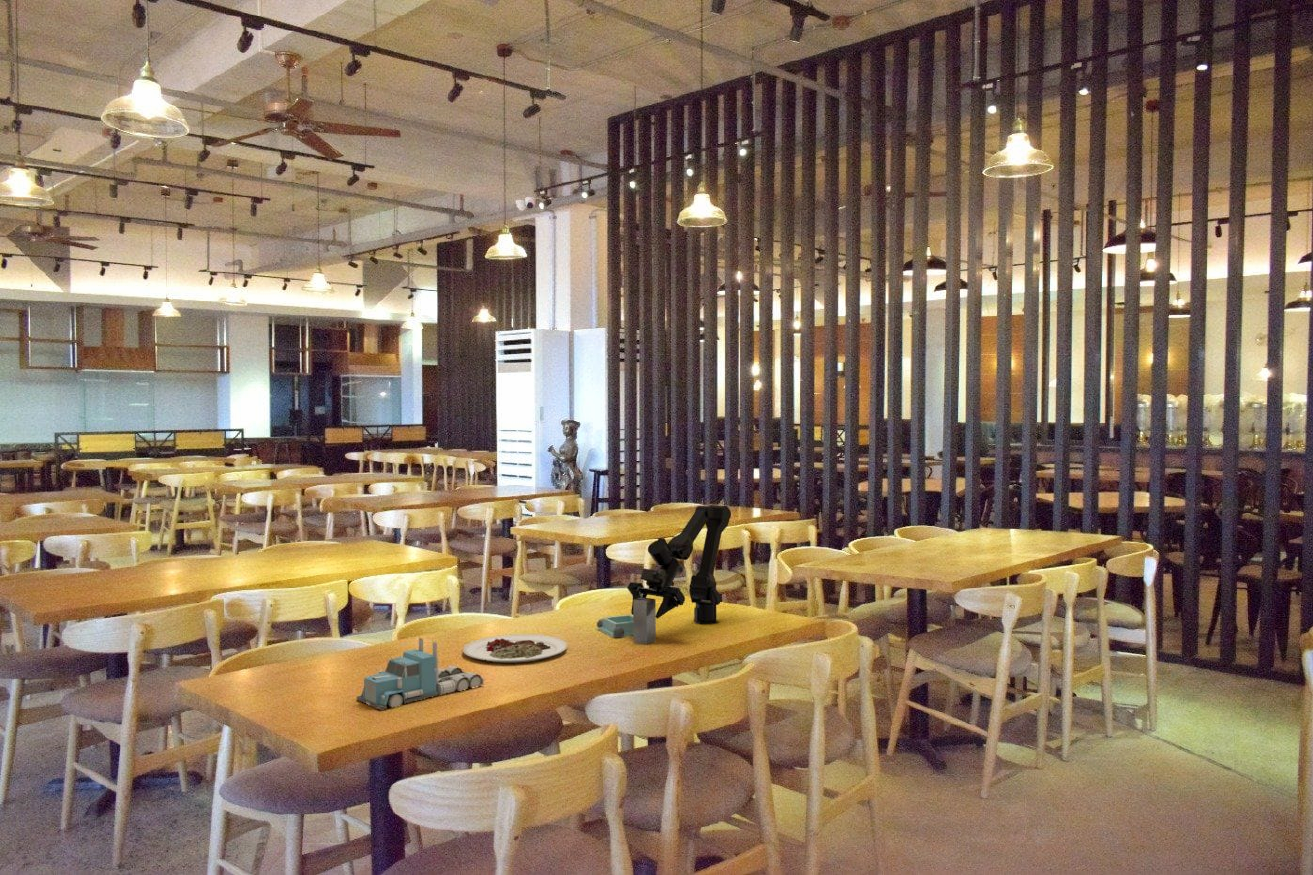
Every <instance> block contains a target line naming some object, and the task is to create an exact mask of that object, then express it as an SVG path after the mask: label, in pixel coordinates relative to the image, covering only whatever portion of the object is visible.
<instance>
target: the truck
mask: <svg viewBox="0 0 1313 875" xmlns="http://www.w3.org/2000/svg"><path fill="white" fill-rule="evenodd" d="M413 647H414V649H411V650H406V651H404V652H403V654H402V656H401V655H400V656H397V657H390V659H387V660H386V664H387V665H386V668H385V671H384V670H379V672H378V673H376V674H372V675H369V676H366V677H363V678H364V679H363V680H364V682H363V687H362V690H361V691H362V692H361V695H357V696H356V701H358V700H359V701H358V702H360V701H361V702H360V703H362V702H363V703H362V704H364V703H366V704H365V705H367V704H368V705H367V706H369V707H371V706H372V707H371V708H373V707H374V708H373V709H376V710H378V709H379V710H378V711H380V710H381V711H385V710H384V709H386V710H387V709H388V707H389V708H390V707H391V708H390V709H394V708H393V707H395V708H397V707H396V706H399V705H401V706H402V705H406V703H408V704H410V703H409V702H412V701H416V702H418V701H417V700H420V701H422V700H421V699H424V698H428V697H432V696H437V695H438V694H439V695H438V696H443V694H444V695H447V694H446V693H448V694H451V692H452V693H454V692H455V691H456V690H457V691H456V692H458V691H461V690H464V689H471V688H472V687H476V686H480V687H481V685H484V681H485V680H484V678H483V677H482V676H481V674H480V675H479V674H477V673H474V672H472V671H468V672H466V671H463V669H462V668H461V667H460V668H459V667H457V666H454V665H449V666H447V667H445V669H443V668H440V667H439V656H438V643H437V642H432V654H431V653H427V652H425V651H424V638H422V637H418V649H415V648H416V645H414V646H413ZM468 687H470V688H468ZM461 692H462V691H461ZM438 696H437V697H438ZM432 698H433V697H432ZM428 699H429V698H428ZM424 700H425V699H424ZM403 703H404V704H403ZM412 703H413V702H412Z"/></svg>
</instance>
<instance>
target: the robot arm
mask: <svg viewBox="0 0 1313 875" xmlns="http://www.w3.org/2000/svg"><path fill="white" fill-rule="evenodd" d="M731 517H732V511H731V509H730V508H729V507H728V505H723V504H721V505H720V504H719V505H718V504H709V505H697V506H696V507H695V510H694V513H693V514H692V515H691V517H690V519H689V520H688V522H687V523H686V525H685V526H684V528H683V529H682V531H681V532H680V533H679V534H676V535H675V536H673V537H672V538H671V539H670V540H669V541H668V542H667V540H666V538H665V537H658V539H657V540H654V541H652V542H651V543H650V544H649V545H648V546H647V553H649V555H650V557H651V559H653V561H654V562H655V564H656V565H657V566H659V567H658V569H649V568H643V569H642V572H641V574H640V575H641V576H640V580H643V581H645V584H646V586H648V587H645V586H644V585H643V584H642V582H637V581H630V582H629V584H628V585H627V588H626V589H627V590H628V591H629V593H630V594H631V596H632V602H631V603H632V604H631V611H630V613H631V615H632V616H633V600H634V599H638V598H641V597H644V598H648V596H653V597H654V596H655V597H658V598H662V601H661V603H660V605H659V608H658V609H657V611H656V620H657V619H660V618H661V617H662V616H663V615H665V614H666V613H668V612H669V611H671V610H673V609H674V608H678V607H679V606H684V604H685V601H686V597H685V595H684V593H683V592H682V590H681V589H680V588H679V587H675V581H674V580H675V579H676V578H675V577H676V576H677V574H678V573H683V571H684V569H683V566H682V563H681V562H679V560H681V561H687V560H688V559H689V558H690V557H691V555H692V553H693V550H694V542H695V540H696V538H698V536H699V534H700V533H701V531H702V529H703V528H704V527H705V526H706V534H705V539H704V544H703V549H702V554H701V559H700V563H699V569H698V572H696V574H692V575H691V577H690V584H689V585H688V588H689V590H688V592H689V597H690V601H691V603H695V607H693V608H694V609H693V610H694V612H693V621H694V622H696V623H698V624H699V625H704V624H705V625H706V624H714V623H719V620H717V606H718V605H720V604H721V601H722V595H721V594H720V593H719V592H718V590H717V580H716V579H715V578H716V577H715V576H714V574H715V568H716V564H717V558H718V553H719V548H720V542H721V536H722V533H723V532H724V530H726V529H727V527H728V526H729V522H730V519H731Z"/></svg>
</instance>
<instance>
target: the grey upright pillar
mask: <svg viewBox="0 0 1313 875" xmlns="http://www.w3.org/2000/svg"><path fill="white" fill-rule="evenodd" d="M632 602H633V615H632V616H633V635H632V637H633V643H635V644H640V645H645V646H646V645H650V644H652V643H653V644H654V643H656V642H657V641H656V640H657V639H656V638H657V636H656V626H657V625H656V624H657V623H656V620H657V618H656V614H657V611H656V598H651V597H646V598H644V597H641V598H638V599H634V600H633V599H632Z"/></svg>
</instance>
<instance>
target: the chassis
mask: <svg viewBox="0 0 1313 875" xmlns="http://www.w3.org/2000/svg"><path fill="white" fill-rule="evenodd" d="M596 627H597V628H598V631H600V632H601V633H603V634H606V635H608V637H611V638H617V639H620V638H621V639H622V638H623V637H629V636H633V615H632V614H623V615H617V616H616V615H615V616H609V617H607V616H606V617H602V618H600V619H599V620H598V621H597V622H596Z"/></svg>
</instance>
